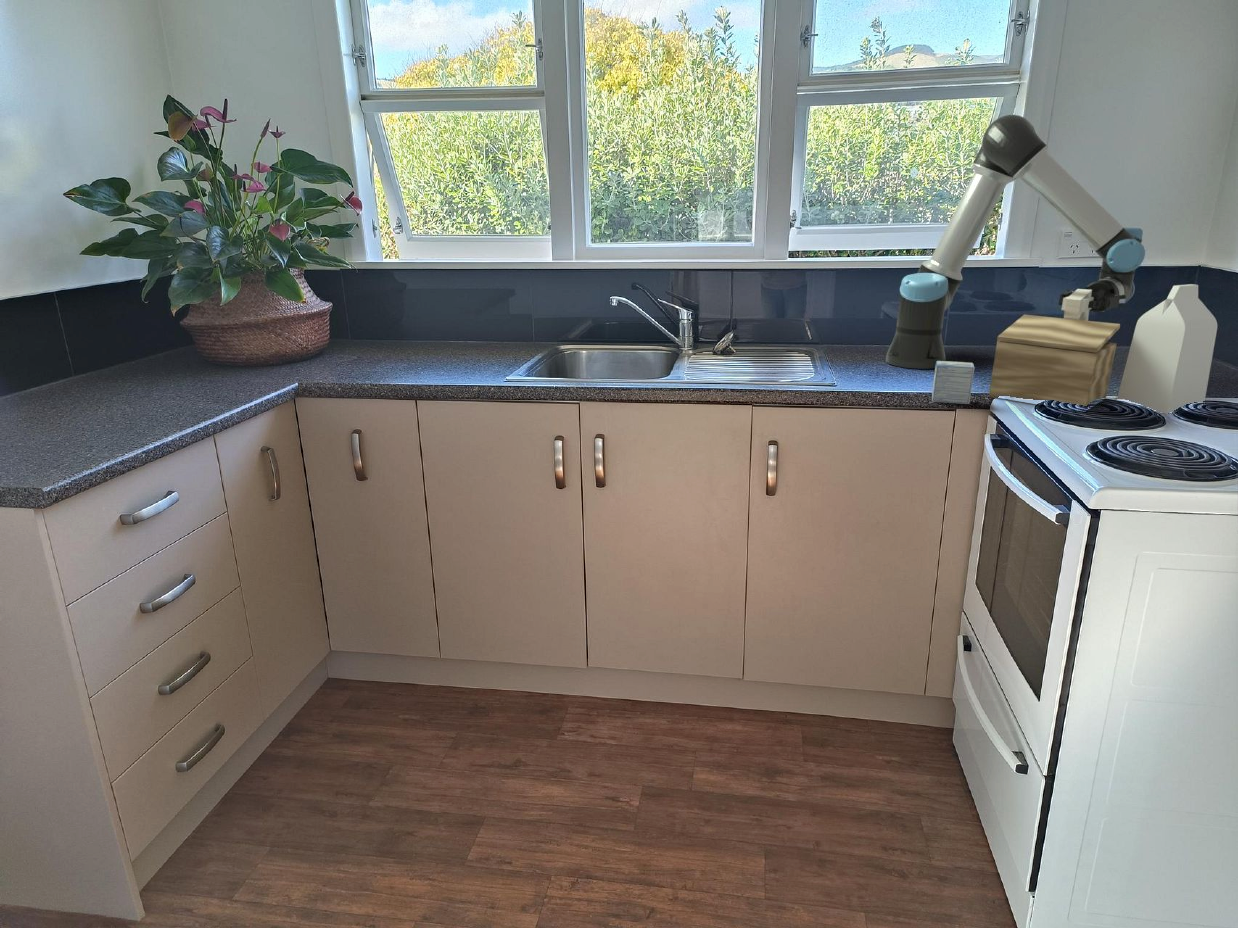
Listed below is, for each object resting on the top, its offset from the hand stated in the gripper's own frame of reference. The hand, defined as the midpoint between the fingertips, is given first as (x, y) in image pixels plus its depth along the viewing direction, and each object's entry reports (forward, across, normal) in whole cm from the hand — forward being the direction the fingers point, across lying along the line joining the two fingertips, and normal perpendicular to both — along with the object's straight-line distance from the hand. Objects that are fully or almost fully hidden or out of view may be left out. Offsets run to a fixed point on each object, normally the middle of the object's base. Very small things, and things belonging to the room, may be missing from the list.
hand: (1073, 305), depth 182 cm
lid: (+3, 0, -7) cm, 8 cm away
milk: (-3, -20, -20) cm, 29 cm away
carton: (+8, 0, -20) cm, 22 cm away
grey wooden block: (+25, +15, -21) cm, 36 cm away
